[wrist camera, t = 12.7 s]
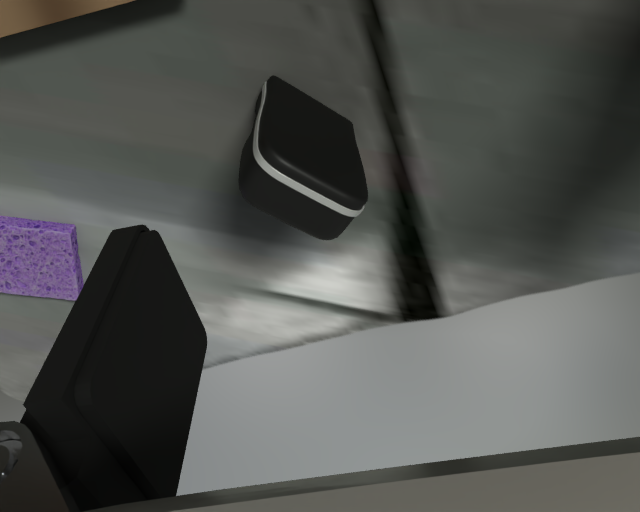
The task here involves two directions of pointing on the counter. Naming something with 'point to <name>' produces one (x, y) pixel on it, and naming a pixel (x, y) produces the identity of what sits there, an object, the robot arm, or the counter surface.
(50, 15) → the rack
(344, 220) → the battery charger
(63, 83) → the counter surface
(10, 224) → the sponges
